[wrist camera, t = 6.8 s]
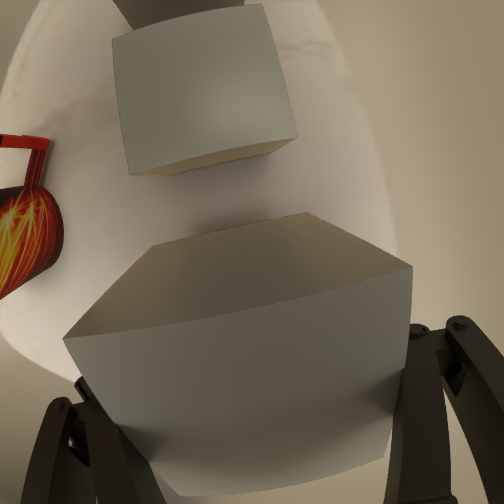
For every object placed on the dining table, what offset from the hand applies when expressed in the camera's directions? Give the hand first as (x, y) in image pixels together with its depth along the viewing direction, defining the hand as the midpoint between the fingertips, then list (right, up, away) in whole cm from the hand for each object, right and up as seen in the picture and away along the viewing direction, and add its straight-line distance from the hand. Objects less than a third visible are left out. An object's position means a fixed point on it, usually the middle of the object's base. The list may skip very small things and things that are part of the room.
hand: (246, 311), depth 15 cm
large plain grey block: (0, 0, +1) cm, 1 cm away
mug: (-24, +8, +7) cm, 26 cm away
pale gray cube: (-3, +15, +7) cm, 17 cm away
